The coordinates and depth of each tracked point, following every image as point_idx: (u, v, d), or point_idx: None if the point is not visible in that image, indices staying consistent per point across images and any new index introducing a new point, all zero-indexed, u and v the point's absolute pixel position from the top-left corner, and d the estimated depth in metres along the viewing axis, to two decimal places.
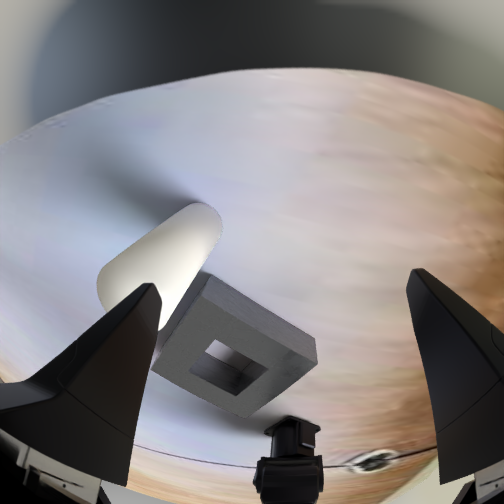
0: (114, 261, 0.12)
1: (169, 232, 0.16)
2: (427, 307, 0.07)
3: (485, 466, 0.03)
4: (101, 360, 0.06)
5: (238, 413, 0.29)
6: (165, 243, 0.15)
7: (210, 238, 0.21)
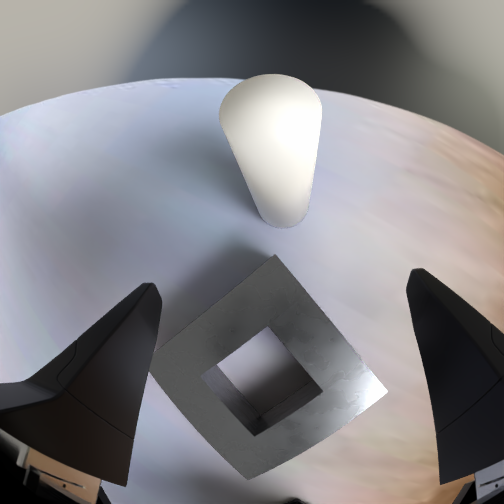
0: (270, 75, 0.11)
1: None
2: (427, 307, 0.07)
3: (485, 466, 0.03)
4: (101, 360, 0.06)
5: (242, 469, 0.16)
6: None
7: None
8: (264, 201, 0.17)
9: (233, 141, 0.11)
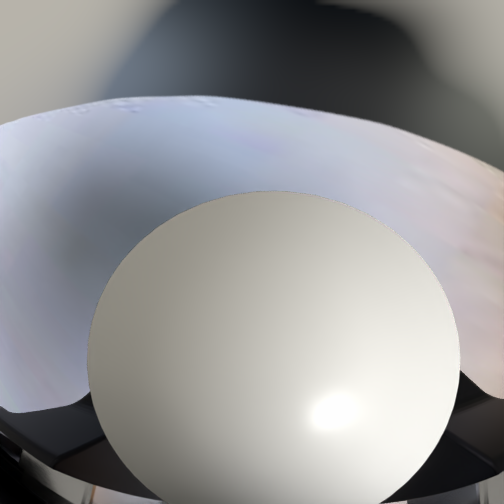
0: (275, 195, 0.03)
1: None
2: None
3: (411, 497, 0.03)
4: None
5: None
6: None
7: None
8: None
9: (150, 482, 0.02)
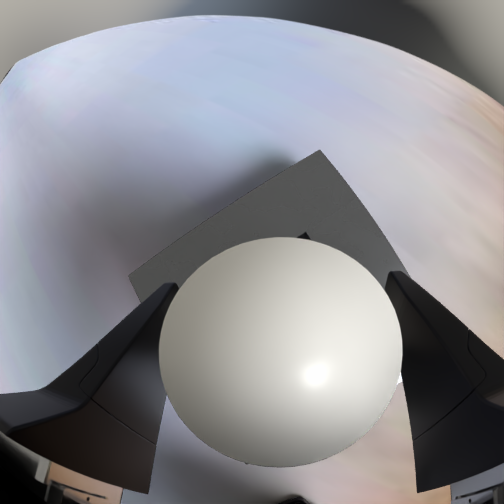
0: (285, 239, 0.05)
1: None
2: (402, 311, 0.07)
3: (459, 479, 0.03)
4: (126, 365, 0.06)
5: None
6: None
7: None
8: None
9: (197, 432, 0.04)
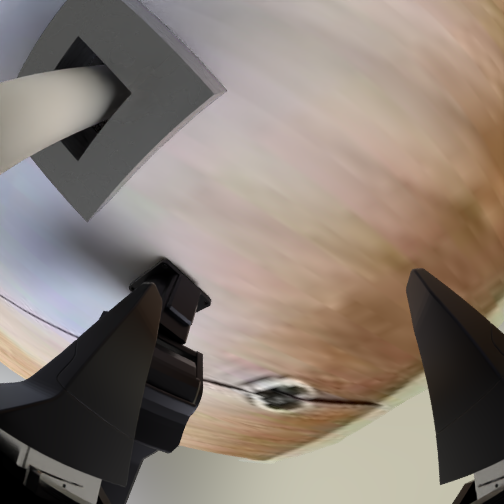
0: None
1: (36, 75, 0.08)
2: (427, 307, 0.07)
3: (485, 466, 0.03)
4: (101, 360, 0.06)
5: (79, 207, 0.17)
6: (18, 82, 0.06)
7: (98, 93, 0.12)
8: None
9: None
